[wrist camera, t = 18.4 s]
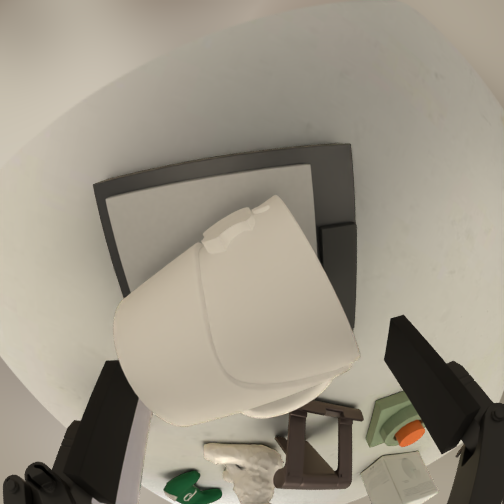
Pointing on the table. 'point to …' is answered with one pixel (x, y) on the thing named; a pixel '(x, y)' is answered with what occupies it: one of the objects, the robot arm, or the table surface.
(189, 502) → the gaming controller
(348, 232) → the scale
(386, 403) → the green button base
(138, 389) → the mug
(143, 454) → the perfume bottle
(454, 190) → the table surface
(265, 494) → the white creature statuette
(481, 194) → the table surface
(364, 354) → the table surface
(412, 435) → the button
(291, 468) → the tablet stand
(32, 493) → the robot arm
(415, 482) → the cosmetics box
